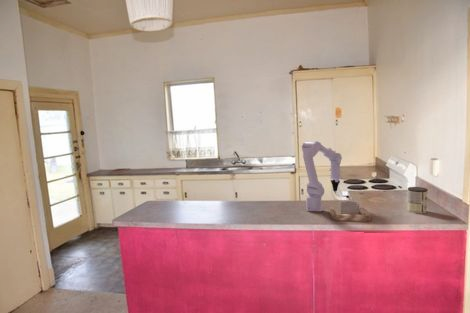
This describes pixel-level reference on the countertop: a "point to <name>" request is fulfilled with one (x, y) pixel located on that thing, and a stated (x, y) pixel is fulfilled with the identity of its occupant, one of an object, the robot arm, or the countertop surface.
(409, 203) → the coffee can
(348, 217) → the wooden bay
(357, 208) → the teacup
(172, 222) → the countertop surface
